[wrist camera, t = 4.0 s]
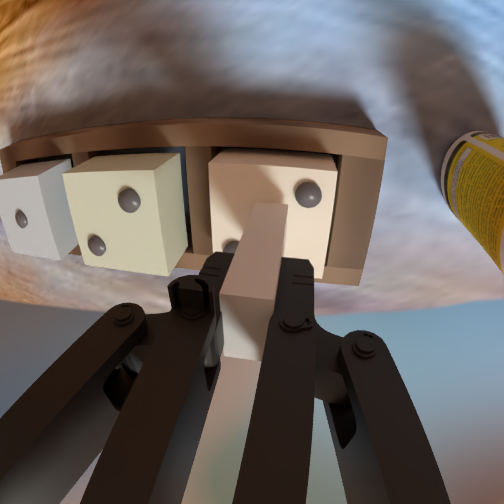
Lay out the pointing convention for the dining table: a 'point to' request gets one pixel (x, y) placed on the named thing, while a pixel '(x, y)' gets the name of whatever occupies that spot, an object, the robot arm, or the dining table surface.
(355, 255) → the tile tray
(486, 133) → the pill bottle
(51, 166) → the tile one
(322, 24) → the dining table surface
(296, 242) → the tile three
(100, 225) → the tile two
